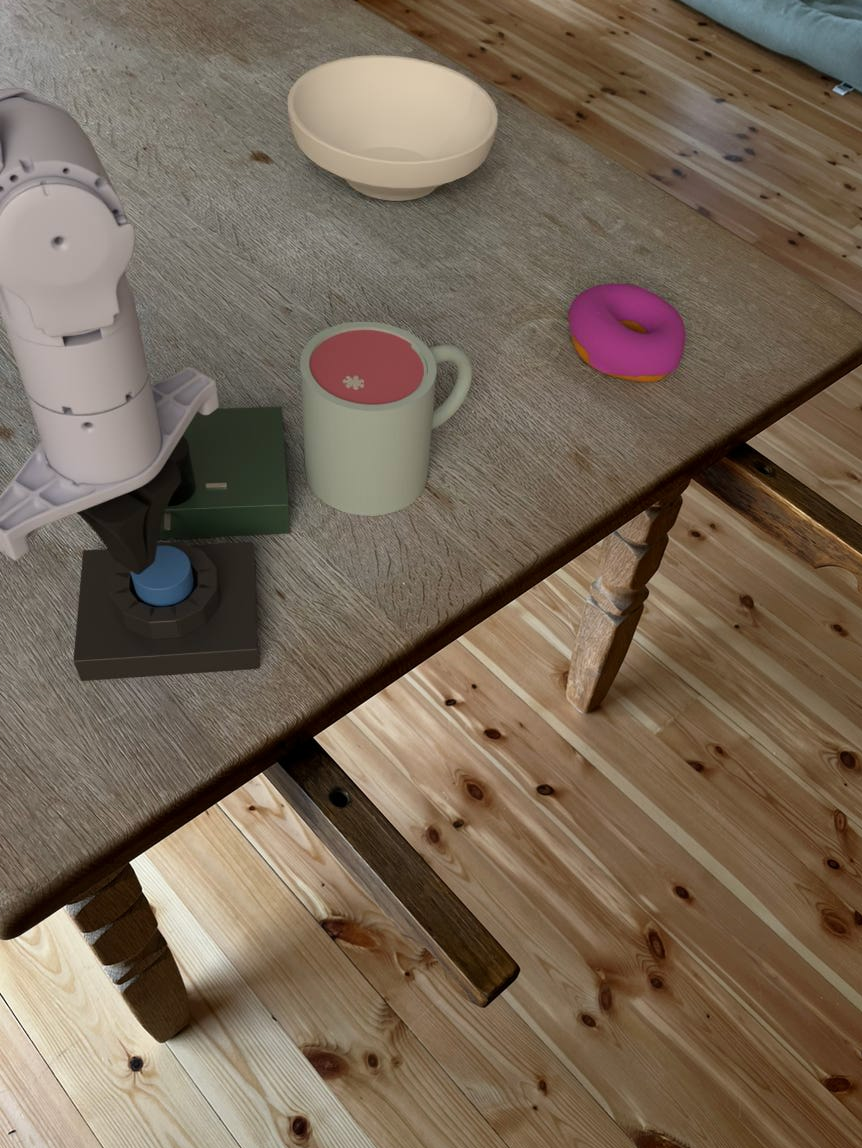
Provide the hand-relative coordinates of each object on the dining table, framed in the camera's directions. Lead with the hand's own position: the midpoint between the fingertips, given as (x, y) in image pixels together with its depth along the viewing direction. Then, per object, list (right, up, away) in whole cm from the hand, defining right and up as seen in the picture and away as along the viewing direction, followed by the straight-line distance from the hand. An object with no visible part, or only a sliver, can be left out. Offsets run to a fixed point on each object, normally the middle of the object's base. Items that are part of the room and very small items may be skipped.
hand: (134, 560), depth 61 cm
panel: (0, +7, +15) cm, 17 cm away
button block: (0, -3, +8) cm, 9 cm away
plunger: (0, -1, +5) cm, 5 cm away
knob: (-1, +6, +11) cm, 12 cm away
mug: (+13, +9, +19) cm, 25 cm away
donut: (+32, +20, +29) cm, 48 cm away
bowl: (+11, +41, +42) cm, 59 cm away
